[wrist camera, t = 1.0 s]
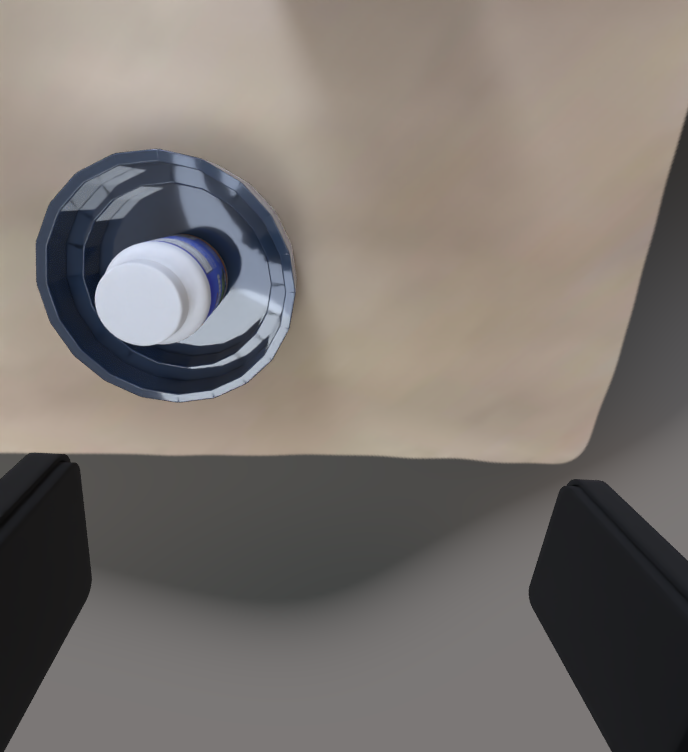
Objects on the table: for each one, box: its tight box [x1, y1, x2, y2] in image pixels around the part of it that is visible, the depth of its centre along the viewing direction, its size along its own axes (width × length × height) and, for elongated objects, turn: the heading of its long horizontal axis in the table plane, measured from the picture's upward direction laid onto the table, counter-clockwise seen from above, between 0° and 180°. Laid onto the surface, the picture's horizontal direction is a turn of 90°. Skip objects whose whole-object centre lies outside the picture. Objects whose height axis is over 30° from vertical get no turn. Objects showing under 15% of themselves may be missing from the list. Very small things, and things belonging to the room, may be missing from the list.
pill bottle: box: [95, 234, 228, 346], centre depth 26 cm, size 5×5×10 cm
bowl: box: [36, 149, 297, 402], centre depth 29 cm, size 14×14×5 cm
